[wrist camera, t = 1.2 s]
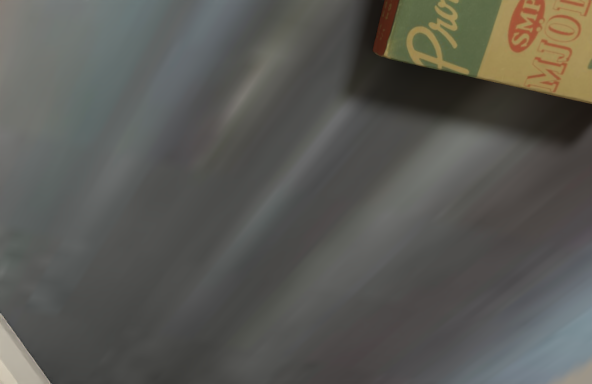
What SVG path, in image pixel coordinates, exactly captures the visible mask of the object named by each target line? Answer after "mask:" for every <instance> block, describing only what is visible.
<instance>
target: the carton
mask: <svg viewBox="0 0 592 384" xmlns="http://www.w3.org/2000/svg"><path fill="white" fill-rule="evenodd" d="M373 52H374V53H376V55H378V56H381V57H385V58H388V59H391V60H396V61H400V62H405V63H409V64H414V65H418V66H423V67H427V68H432V69H437V70H442V71H446V72H451V73H455V74H460V75H465V76H469V77H474V78H478V79H483V80H487V81H491V82H496V83H500V84H505V85H509V86H514V87H518V88H523V89H527V90H532V91H536V92H540V93H544V94H549V95H553V96H558V97H562V98H567V99H571V100H576V101H580V102H585V103H589V104H592V0H385V1H384V5H383V9H382V13H381V17H380V21H379V25H378V30H377V34H376V38H375V42H374V47H373Z"/></svg>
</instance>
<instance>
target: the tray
mask: <svg viewBox="0 0 592 384" xmlns="http://www.w3.org/2000/svg"><path fill="white" fill-rule="evenodd" d="M0 384H51V383H50V381H49V380H48V378H47V377H46V376H45V374H44V373H43V372H42V370H41V369H40V367H39V366H38V365H37V363H36V362H35V360H34V359H33V358H32V356H31V355H30V353H29V352H28V351H27V349H26V348H25V346H24V345H23V344H22V342H21V341H20V339H19V338H18V337H17V335H16V334H15V332H14V331H13V330H12V328H11V327H10V326H9V324H8V323H7V321H6V320H5V319H4V317H3V316H2V314H1V313H0Z"/></svg>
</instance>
